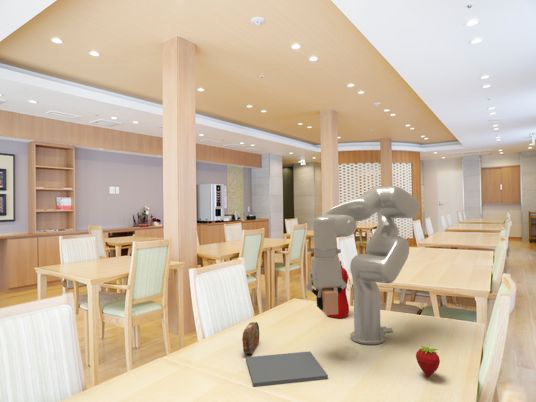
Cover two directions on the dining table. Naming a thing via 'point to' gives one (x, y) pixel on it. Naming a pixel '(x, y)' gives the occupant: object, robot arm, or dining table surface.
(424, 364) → the strawberry
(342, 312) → the water bottle
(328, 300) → the card box
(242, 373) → the dining table surface
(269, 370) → the mat
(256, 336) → the brown rounded slab
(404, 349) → the dining table surface
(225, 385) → the dining table surface
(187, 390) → the dining table surface
